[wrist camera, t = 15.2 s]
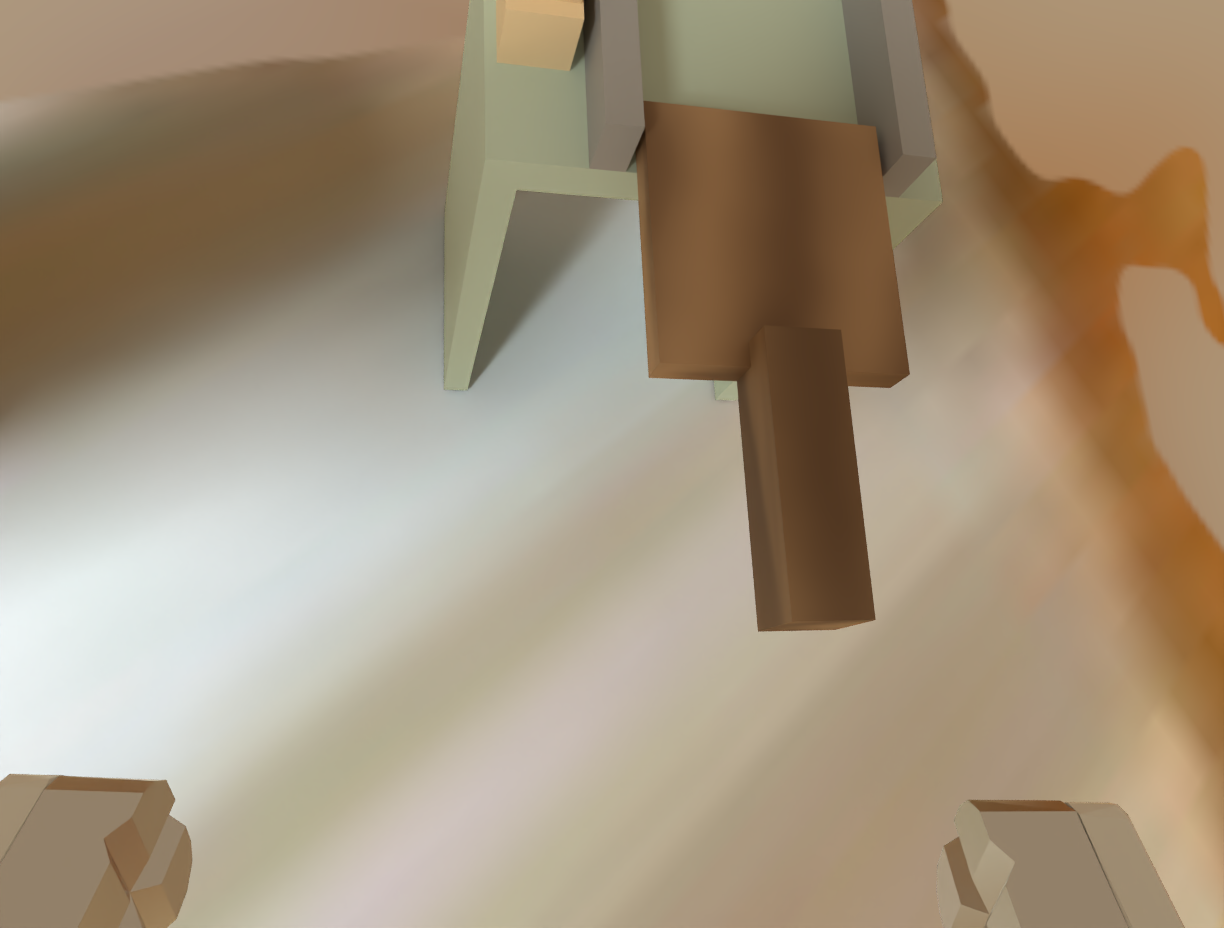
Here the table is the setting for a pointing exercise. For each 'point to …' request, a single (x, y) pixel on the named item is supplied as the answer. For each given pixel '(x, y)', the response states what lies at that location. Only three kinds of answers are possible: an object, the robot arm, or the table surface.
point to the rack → (668, 73)
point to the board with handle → (777, 326)
